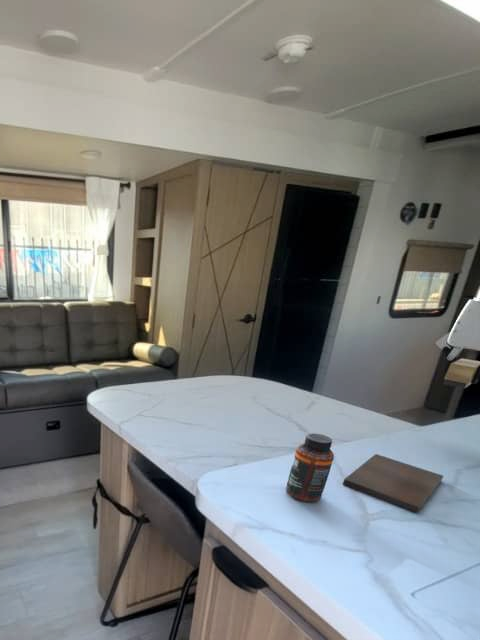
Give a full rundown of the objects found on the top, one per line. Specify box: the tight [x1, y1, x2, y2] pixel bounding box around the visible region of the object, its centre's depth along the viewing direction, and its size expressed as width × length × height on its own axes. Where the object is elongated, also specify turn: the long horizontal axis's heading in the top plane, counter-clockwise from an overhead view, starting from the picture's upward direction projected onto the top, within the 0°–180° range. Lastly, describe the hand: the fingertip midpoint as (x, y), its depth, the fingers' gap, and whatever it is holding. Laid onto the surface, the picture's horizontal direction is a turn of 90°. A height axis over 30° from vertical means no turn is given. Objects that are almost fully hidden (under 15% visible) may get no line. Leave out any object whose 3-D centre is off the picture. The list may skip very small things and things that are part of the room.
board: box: [342, 453, 444, 514], centre depth 79 cm, size 18×12×1 cm, turn 131°
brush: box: [443, 358, 480, 389], centre depth 92 cm, size 10×4×5 cm, turn 130°
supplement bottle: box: [285, 432, 335, 503], centre depth 71 cm, size 6×6×11 cm
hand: (460, 379), depth 92 cm, fingers closed on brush, 4 cm apart
